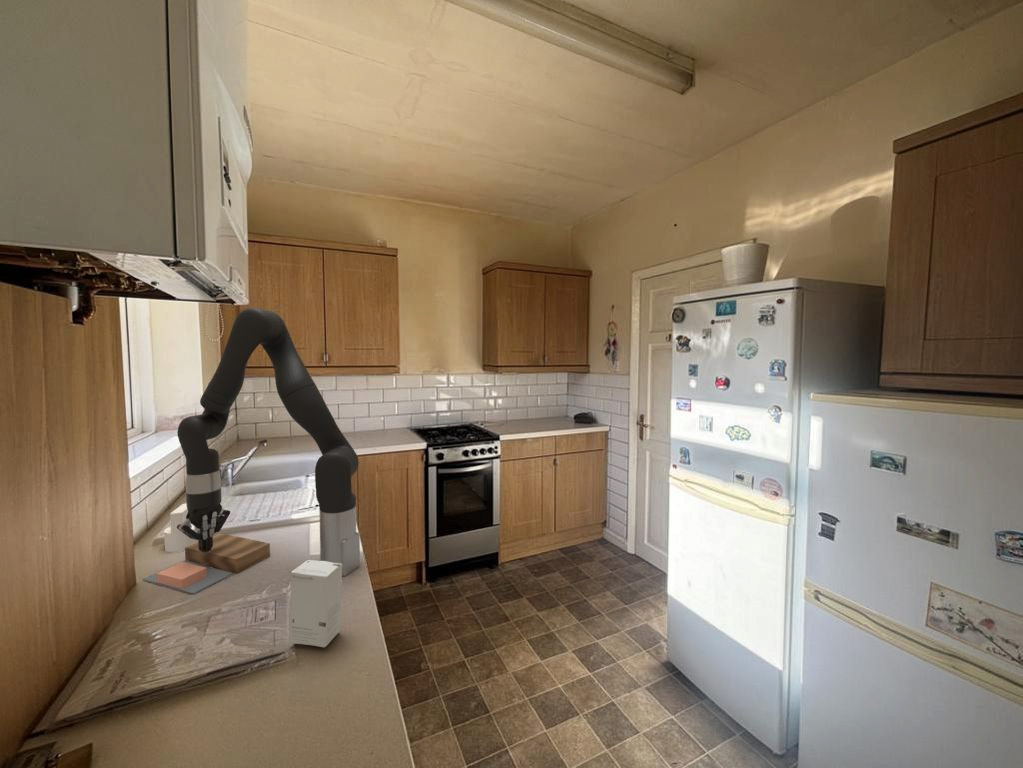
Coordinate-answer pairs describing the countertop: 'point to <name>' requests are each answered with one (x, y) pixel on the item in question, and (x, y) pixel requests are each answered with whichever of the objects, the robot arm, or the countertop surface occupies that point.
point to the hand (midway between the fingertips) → (206, 550)
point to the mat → (211, 579)
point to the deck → (229, 553)
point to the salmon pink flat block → (181, 575)
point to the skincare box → (315, 603)
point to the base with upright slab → (177, 531)
